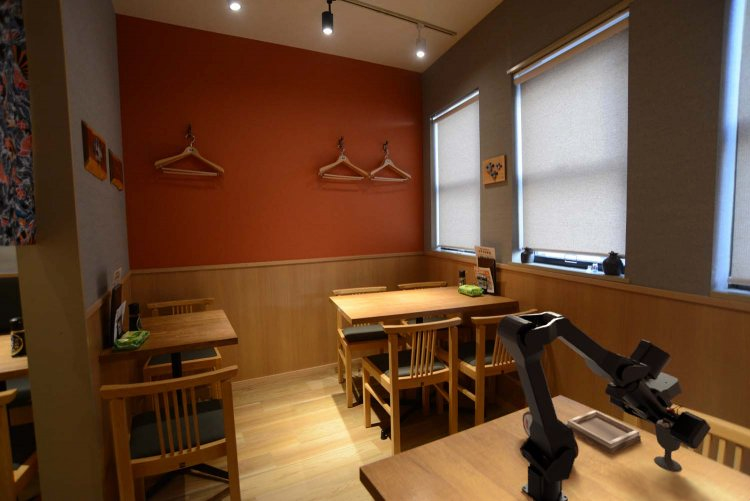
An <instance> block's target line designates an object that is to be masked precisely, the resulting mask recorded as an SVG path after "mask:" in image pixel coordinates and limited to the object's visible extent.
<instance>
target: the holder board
mask: <svg viewBox="0 0 750 501" xmlns="http://www.w3.org/2000/svg"><path fill="white" fill-rule="evenodd" d="M599 412H600V413H599ZM601 413H602V414H601ZM604 414H605V413H603V412H601V411H599V410H597V409H594V410H591V411H589V412H586V413H583V414H580V415H578V416H575V417H573V418H570V419H568V420H567V423H565V424H566V425H567V426H569V427H570V428H571V429H572V431H573V433H574V435H577V436H579V437H581V438H582V439H584V440H586V441H588V442H589V443H591V444H593V445H594V446H596V447H598V448H600V449H602V450H603V451H605V452H606V453H608V454H610V455H612V454H614V453H616V452H618V451H620V450H623V449H624V448H627V447H629V446H631V445H633V444H636V443H638V442H640V441H641V437H642V436H641V435H640V431H639V430H638V429H635V428H633V427H632V426H630V425H628V424H625V423H623V422H621V421H620V420H617V419H616V418H613V417H611V416H609V415H607V414H605V415H604Z"/></svg>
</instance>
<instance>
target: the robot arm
mask: <svg viewBox="0 0 750 501" xmlns="http://www.w3.org/2000/svg"><path fill="white" fill-rule="evenodd" d="M496 334H497V335H498V338H499V340H500V341H501V343H502V346H503V348H504V349H505V350H506V351H507V353H508V354H509V355H510V357H511V358H512V359H513V362H514V364H515V367H516V370H517V373H518V377H519V380H520V384H521V387H522V389H523V393H524V397H525V399H526V402H527V405H528V411H530V413H531V416H532V422H531V425H530V427H529V431H530V436H529V437H527V438H526V440H525V441H524V442H523V444H522V445H521V446H520V448H519V451H520V454H521V456H522V457H523V458H524V459H525V460H526V461H527V462H528V463H529V466H527V484H525V485H522V486H521V490H522V491H523V493H525V494H526V495H527V496H528V497H530V498H531V499H532V500H533V501H569V496H568V495H566V494H565V493H563V492H562V491H563V481H565V480H569V479H570V476H571V473H572V470H573V466H574V464H575V460H576V459H575V457H576V448H575V447H578V448H579V444H578V443H577V444H578V445H577V444H576V442H577V441H576V442H575V440H574V437H575V433H573V431H572V429H571V428H570V427H569V426H567V425H566V424H567V423H565V422H563V421H562V420H561V419H559V418H558V416H557V412H556V409H555V406H554V402H553V399H552V395H551V392H550V388H549V386H548V382H547V378H546V374H545V371H544V369H543V364H542V360H541V357H542V356H543V354H544V353H543V352H544V351H545V346H547V345H549V344H550V345H551V343H553V342H554V341H555V340H556V339H558V340H560V341H561V342H563V343H564V344H565V345H566V346H568V347H569V348H570V349H571V350H573V351H574V352H575V353H577V354H578V355H580V356H581V357H582V358H583V359H584V361H585V362H584V363H585V364H586V365H587V367H588V368H589V369H590V370H591V371H592V373H593V374H595V375H597V376H599V377H601V378H604V379H606V380H608V381H609V383H607V385H606V388H605V390H604V393H605V394H606V395H607V396H609V402H610V404H612V405H613V406H614V407H616V408H617V409H619V410H621V411H623V412H624V413H626V414H628V415H630V416H633V417H636V418H638V419H639V420H643V421H646V422H649V423H651V424H653V425H654V424H656V423H657V422H658V420H659V421H660V420H662V419H664V420H666V421H668V422H670V423H672V424H673V426H672V427H671V428H670V435H671V436H672V437H673V438H675V440H677V441H679V442H680V443H681V445H685V446H686V447H688V448H690V449H691V450H695V449H698V448H699V447H700V445H701V444H702V442H703V440H704V439H705V437H706V436H707V435H708V433H709V432H710V431H711V428H712V427H711V425H710V424H709V422H708V421H706V419H704V418H702V417H700V416H698V415H696V414H694V413H691V412H689V411H682V412H681V413H680V414H679V413H678V414H679V415H678V414H676V413H677V412H675V413H674V412H672V411H670V410H669V408H672V406H673V405H674V403H673V402H672V400H673V399H675V398H676V397H677V396H678V395H681V394H682V393H683V389H682V386H681V384H680V381H679V379H678V378H677V377H675V376H672V375H670V374H667V373H665V372H662V371H663V370H664V369H665V367H666V366H667V364H669V362H670V361H671V359H672V356H671V355H670V353H669V352H666V351H664V350H663V349H662V348H660V347H658V346H656V345H654V344H653V343H652V342H651V341H648V340H645V339H641V340H640V341H639V343H637V347H636V348H635V349H634V351H633V352H632V353H631V355H629V356H625V355H621V354H619V353H615V352H613V351H611V350H609V349H607V348H604V347H603V346H602V345H601V344H600V343H598V342H597V341H596V340H594V339H593V338H592V337H590V336H589V335H588V334H587V333H586V332H584V331H583V330H582V329H581V328H579V327H578V326H577V325H575V324H574V323H573V322H571V320H570V319H569V318H568V317H567V316H565V315H563V314H560V313H557V312H554V311H544V312H540V313H531V314H529V313H527V314H519V315H514V314H508V315H505V316H504V317H502V318H501V320H500V321H499V323H498V324H497V325H496Z"/></svg>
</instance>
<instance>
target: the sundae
mask: <svg viewBox="0 0 750 501" xmlns="http://www.w3.org/2000/svg"><path fill="white" fill-rule="evenodd" d="M683 407H684V406H683V405H681V404H678V405H677V406H675V407H674V408H672V407H671V408H668V410H670V411H672V412H674V413H676V414H678V415H680V414H679V413H678V412H679V411H678V410H679V409H681V408H683ZM675 409H676V410H675ZM653 425H654V429H655V430H654V431H655V436H656V440H657V444H658V445H659V446H660V447H661V448H662V449H663V450H664V455H663V456H655V457H654V458H653V461H654V463H656V465H658V466H659V467H660V468H662V469H665V470H667V471H670V472H679V471H680V472H681V470H682V469H683V468H682V465H681V464H680V463H679V462H677V461H676V460H674V459H672V452H676V451H678V450H680V448H681V445H682V443H680V442H679V441H677V440H675V438H673V437H672V436H671V435H670V428H671V427H672V426H673V424H672V423H670V422H668V421H666V420H664V419H662V420H660V421H659V420H658V422H657V423H656V424H653Z"/></svg>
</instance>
